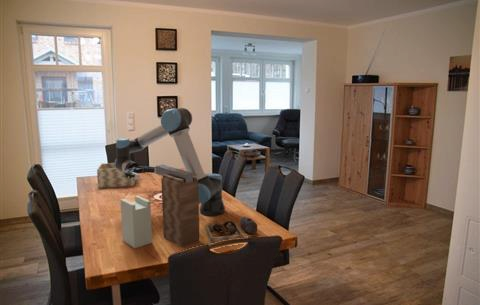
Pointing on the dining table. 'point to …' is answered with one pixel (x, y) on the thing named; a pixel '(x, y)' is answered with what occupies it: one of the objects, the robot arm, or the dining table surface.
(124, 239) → the slotted cradle
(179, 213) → the walnut stand
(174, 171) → the bar
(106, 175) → the zigzag patterned box
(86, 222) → the dining table surface
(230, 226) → the coaster tray
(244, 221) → the perforated stone tool
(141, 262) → the dining table surface
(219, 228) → the pottery mug
